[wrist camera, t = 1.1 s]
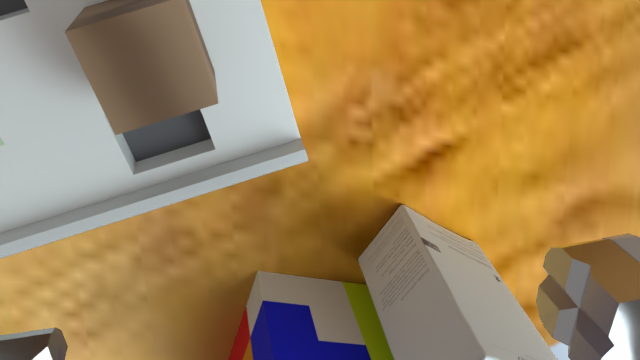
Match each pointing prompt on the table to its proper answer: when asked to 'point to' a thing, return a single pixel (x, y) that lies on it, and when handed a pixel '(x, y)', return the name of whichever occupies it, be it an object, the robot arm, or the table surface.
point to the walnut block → (143, 60)
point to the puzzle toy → (309, 321)
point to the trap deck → (136, 145)
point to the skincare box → (443, 296)
